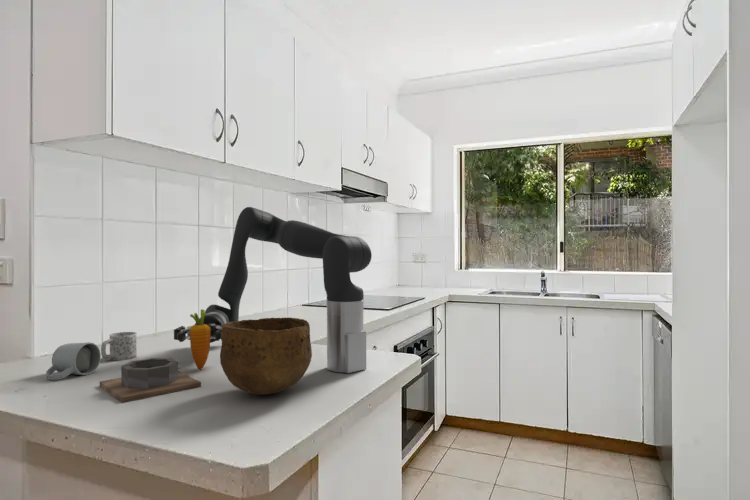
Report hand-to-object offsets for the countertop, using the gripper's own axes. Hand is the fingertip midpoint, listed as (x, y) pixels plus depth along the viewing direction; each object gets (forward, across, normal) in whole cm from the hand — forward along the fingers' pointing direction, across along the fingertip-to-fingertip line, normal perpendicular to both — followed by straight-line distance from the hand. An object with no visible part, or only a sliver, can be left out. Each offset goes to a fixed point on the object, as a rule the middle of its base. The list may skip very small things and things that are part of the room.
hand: (198, 337), depth 119 cm
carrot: (-2, 0, +9) cm, 9 cm away
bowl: (+20, +18, +9) cm, 28 cm away
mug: (-18, -25, +9) cm, 32 cm away
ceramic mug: (-2, -30, +9) cm, 31 cm away
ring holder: (+11, -8, +8) cm, 16 cm away
